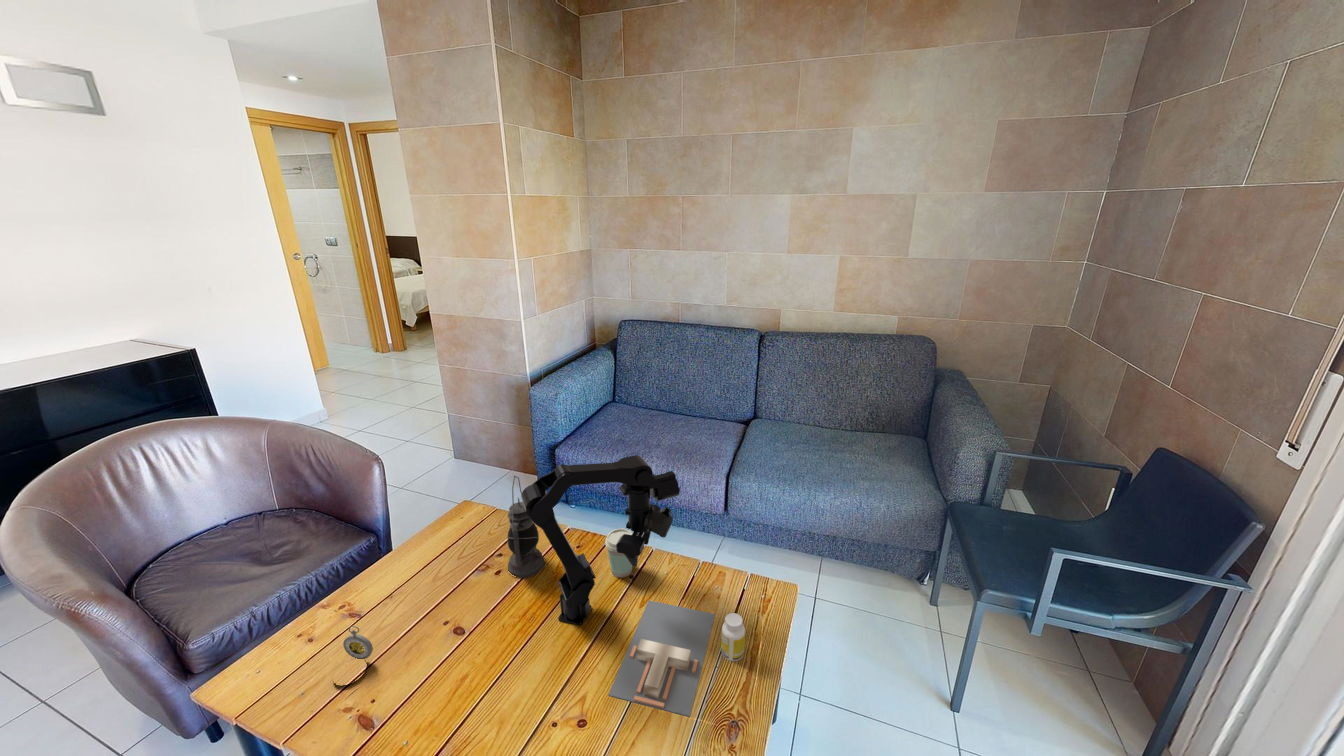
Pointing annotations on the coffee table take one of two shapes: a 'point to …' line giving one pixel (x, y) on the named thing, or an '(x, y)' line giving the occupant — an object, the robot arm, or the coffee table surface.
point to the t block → (661, 663)
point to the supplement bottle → (733, 637)
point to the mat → (678, 685)
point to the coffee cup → (618, 554)
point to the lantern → (523, 542)
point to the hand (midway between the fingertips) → (640, 554)
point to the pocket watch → (357, 645)
